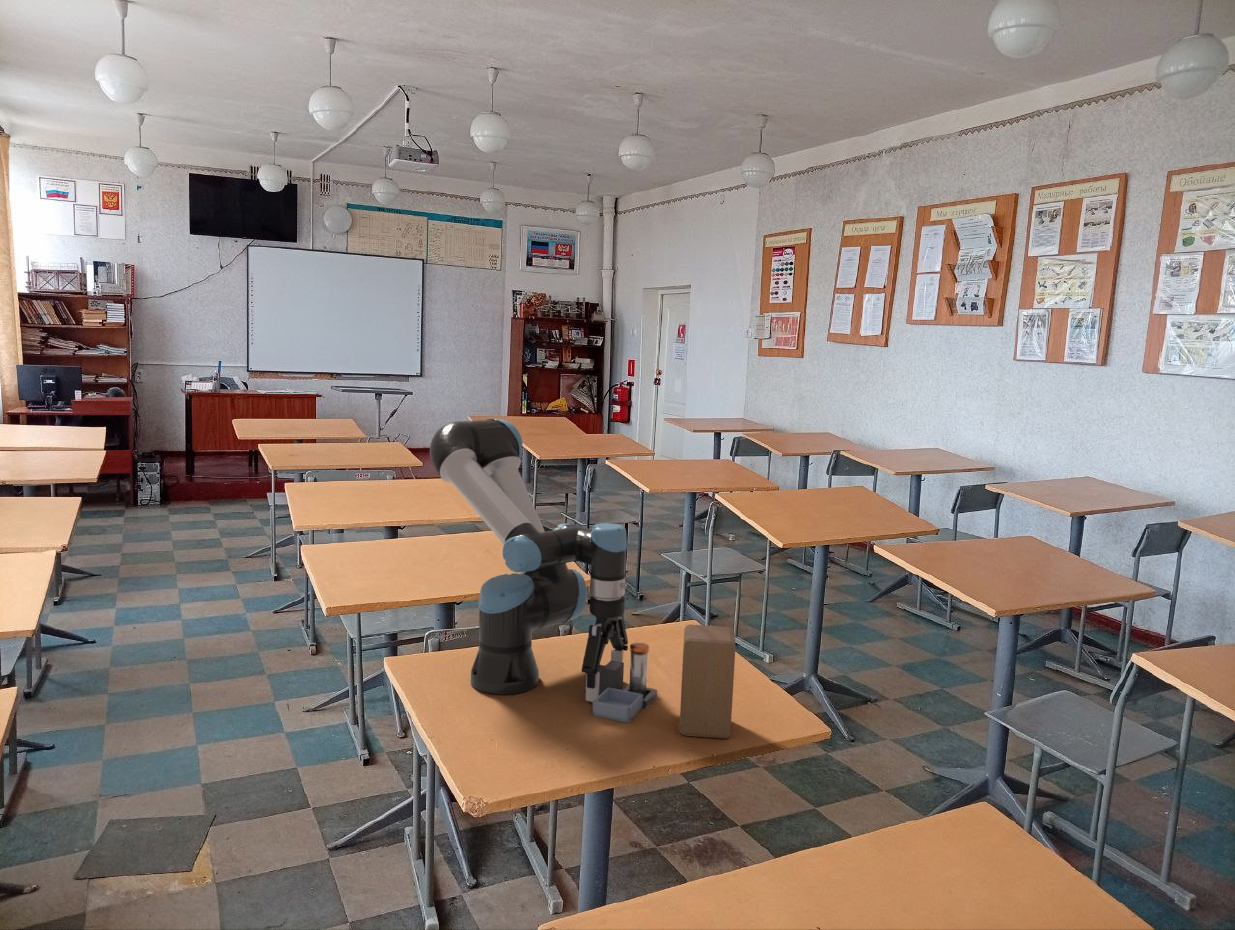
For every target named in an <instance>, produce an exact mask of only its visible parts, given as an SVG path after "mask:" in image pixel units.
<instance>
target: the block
mask: <svg viewBox="0 0 1235 930" xmlns="http://www.w3.org/2000/svg"><path fill="white" fill-rule="evenodd" d="M735 637H736V636H735V630H734V628H732V627H730V626H721V625H720V626H718V625H716V626H715V625H705V624H704V625H702V624H686V626H685V627H684V634H683V646H682V647H683V651H682V671H681V687H680V688H681V690H680V691H681V692H680V707H679V708H680V710H679V711H680V712H679V729H678V730H679V733H680V734H681V735H683V736H687V737H688V736H690V737H701V738H713V739H716V738H717V739H728V738H729V737H730V736H731V730H732V728H731V727H732V713H733V696H734V695H733V693H734V679H735V665H736V664H735V662H736V661H735V660H736V648H737V647H736V638H735Z"/></svg>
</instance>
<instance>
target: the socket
mask: <svg viewBox="0 0 1235 930" xmlns="http://www.w3.org/2000/svg"><path fill="white" fill-rule="evenodd" d="M629 686H630V683H629V684H627V685H626V686H625V688H623V690H624V691H629ZM657 697H658V689H655V688H650V687H646V697H645V698H644V699H643V707H642V709H644V708H645V709H647V708H648V707H649V706H650V705H651V704H652V703H653V701H654V700H656V698H657Z"/></svg>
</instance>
